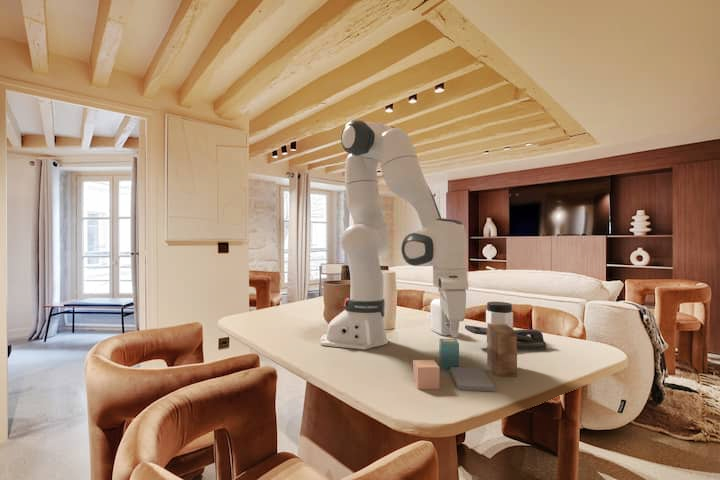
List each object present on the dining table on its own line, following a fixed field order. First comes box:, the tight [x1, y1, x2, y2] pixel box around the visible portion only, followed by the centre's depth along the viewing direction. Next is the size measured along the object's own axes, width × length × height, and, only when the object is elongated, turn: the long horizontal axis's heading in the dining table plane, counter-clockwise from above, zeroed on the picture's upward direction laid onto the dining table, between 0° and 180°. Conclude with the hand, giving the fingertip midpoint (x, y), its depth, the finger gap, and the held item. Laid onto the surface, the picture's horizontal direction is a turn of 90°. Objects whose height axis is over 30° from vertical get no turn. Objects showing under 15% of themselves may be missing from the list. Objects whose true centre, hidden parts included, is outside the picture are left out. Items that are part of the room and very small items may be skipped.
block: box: [412, 359, 441, 390], centre depth 83 cm, size 5×5×5 cm
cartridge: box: [438, 338, 460, 371], centre depth 95 cm, size 4×4×7 cm
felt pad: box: [449, 366, 495, 392], centre depth 86 cm, size 8×12×1 cm, turn 174°
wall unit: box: [486, 324, 518, 377], centre depth 94 cm, size 5×10×11 cm, turn 174°
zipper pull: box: [464, 324, 547, 352], centre depth 114 cm, size 9×7×25 cm
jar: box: [485, 301, 514, 337], centre depth 126 cm, size 9×8×12 cm
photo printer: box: [430, 298, 451, 337], centre depth 132 cm, size 10×4×12 cm, turn 14°
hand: (451, 331), depth 94 cm, fingers open, 8 cm apart
